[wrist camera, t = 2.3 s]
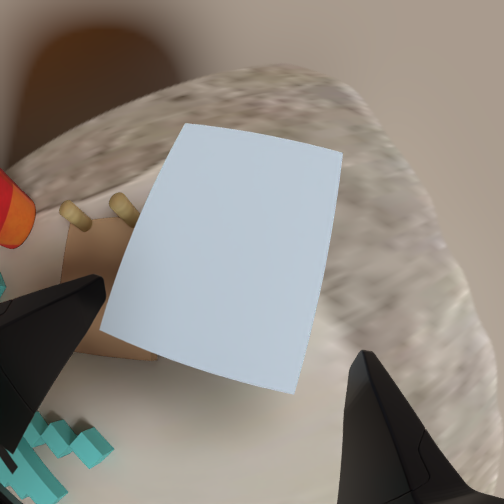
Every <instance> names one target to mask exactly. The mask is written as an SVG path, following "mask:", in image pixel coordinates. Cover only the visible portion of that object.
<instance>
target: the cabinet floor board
mask: <svg viewBox="0 0 504 504" xmlns="http://www.w3.org/2000/svg"><path fill="white" fill-rule="evenodd" d="M109 206H110V208H111V209H112V210H113V211H114V212H115V213H116V214H117V215H118V216H119V217H112V218H102V219H93V220H91V219H90V218H89V217H88V216H87V215H86V214H85V213H84V212H82V211H81V210H80V209H79V208H78V207H77V206H76V205H75V204H73V203H72V202H71V201H70V200H66V201H65V202H63V203H62V205H61V206H60V209H59V213H60V215H62V216H63V217H64V218H65V219H67V220H68V221H69V222H70V226H69V231H68V236H67V242H66V247H65V253H64V260H63V267H62V274H61V282H60V284H61V283H64V282H68V281H71V280H74V279H77V278H80V277H84V276H87V275H90V274H97V275H99V276H102V277H103V279H104V283H105V289H106V300H105V302H104V304H103V306H102V307H101V309H100V311H99V312H98V314H97V316H96V318H95V319H94V321H93V323H92V325H91V326H90V328H89V330H88V331H87V333H86V335H85V336H84V338H83V339H82V340H81V342H80V343H79V345H78V346H77V348H76V349H75V351H74V352H79V353H85V354H92V355H99V356H107V357H116V358H125V359H135V360H147V361H154V360H157V354H155V353H152V352H150V351H147V350H145V349H142V348H140V347H137V346H135V345H132V344H130V343H128V342H125V341H123V340H121V339H118V338H116V337H114V336H112V335H110V334H107V333H105V332H103V331H101V330H99V329H100V326H101V322H102V319H103V316H104V312H105V309H106V306H107V303H108V299H109V296H110V293H111V290H112V287H113V284H114V281H115V278H116V275H117V273H118V270H119V267H120V264H121V262H122V259H123V256H124V253H125V251H126V248H127V246H128V243H129V241H130V238H131V236H132V233H133V231H134V228H135V226H136V223H137V221H138V219H139V216H140V213H139V212H138V211H137V210H136V209H135V207H134V206H133V205H132V204H131V202H130V201H129V200H128V199H127V197H126V196H125V195H124V194H123V193H116V194H114V195H113V196H112V197H111V198H110V201H109Z"/></svg>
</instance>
